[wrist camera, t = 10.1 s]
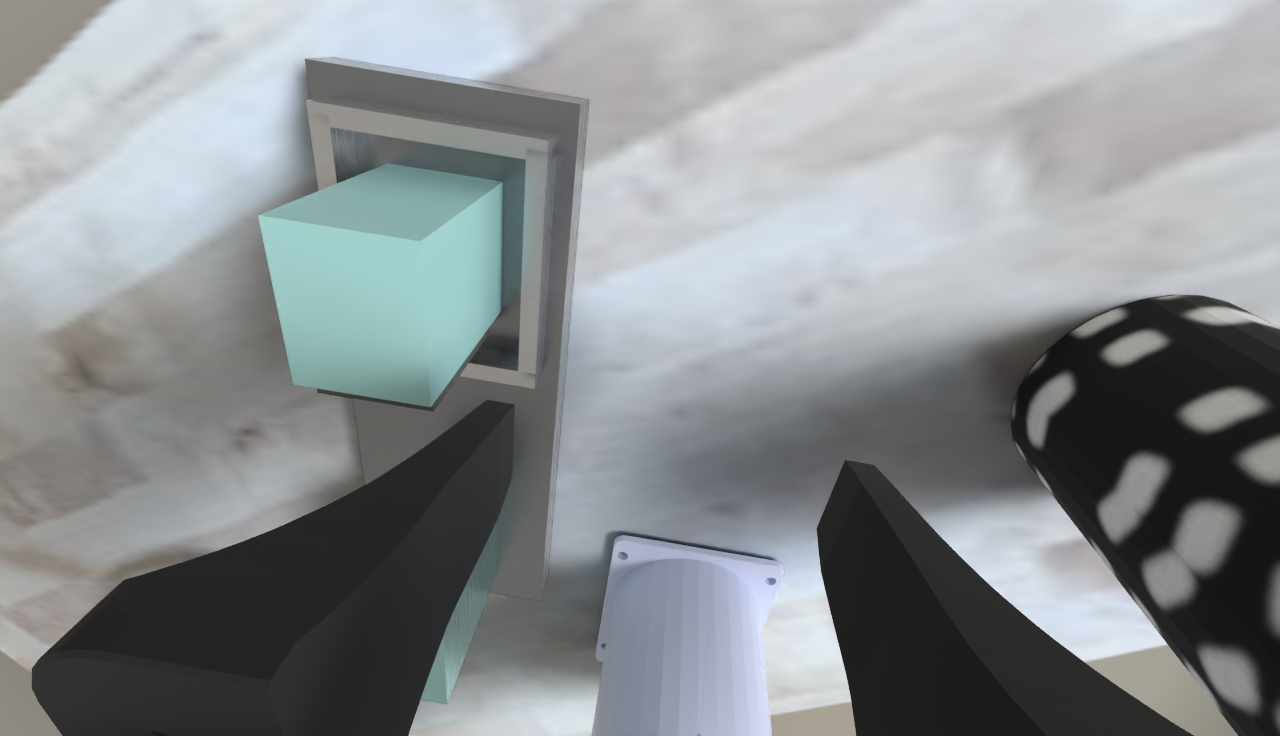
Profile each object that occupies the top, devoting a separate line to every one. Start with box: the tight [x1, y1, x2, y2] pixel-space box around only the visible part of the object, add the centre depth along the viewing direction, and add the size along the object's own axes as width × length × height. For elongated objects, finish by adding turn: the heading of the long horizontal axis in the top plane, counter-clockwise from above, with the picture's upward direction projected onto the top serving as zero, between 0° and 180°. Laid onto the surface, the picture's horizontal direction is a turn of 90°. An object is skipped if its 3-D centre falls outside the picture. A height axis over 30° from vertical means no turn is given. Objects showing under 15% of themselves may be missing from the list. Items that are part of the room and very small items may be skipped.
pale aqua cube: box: [258, 163, 503, 412], centre depth 16 cm, size 5×4×6 cm
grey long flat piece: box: [305, 57, 589, 704], centre depth 20 cm, size 22×8×8 cm, turn 172°
